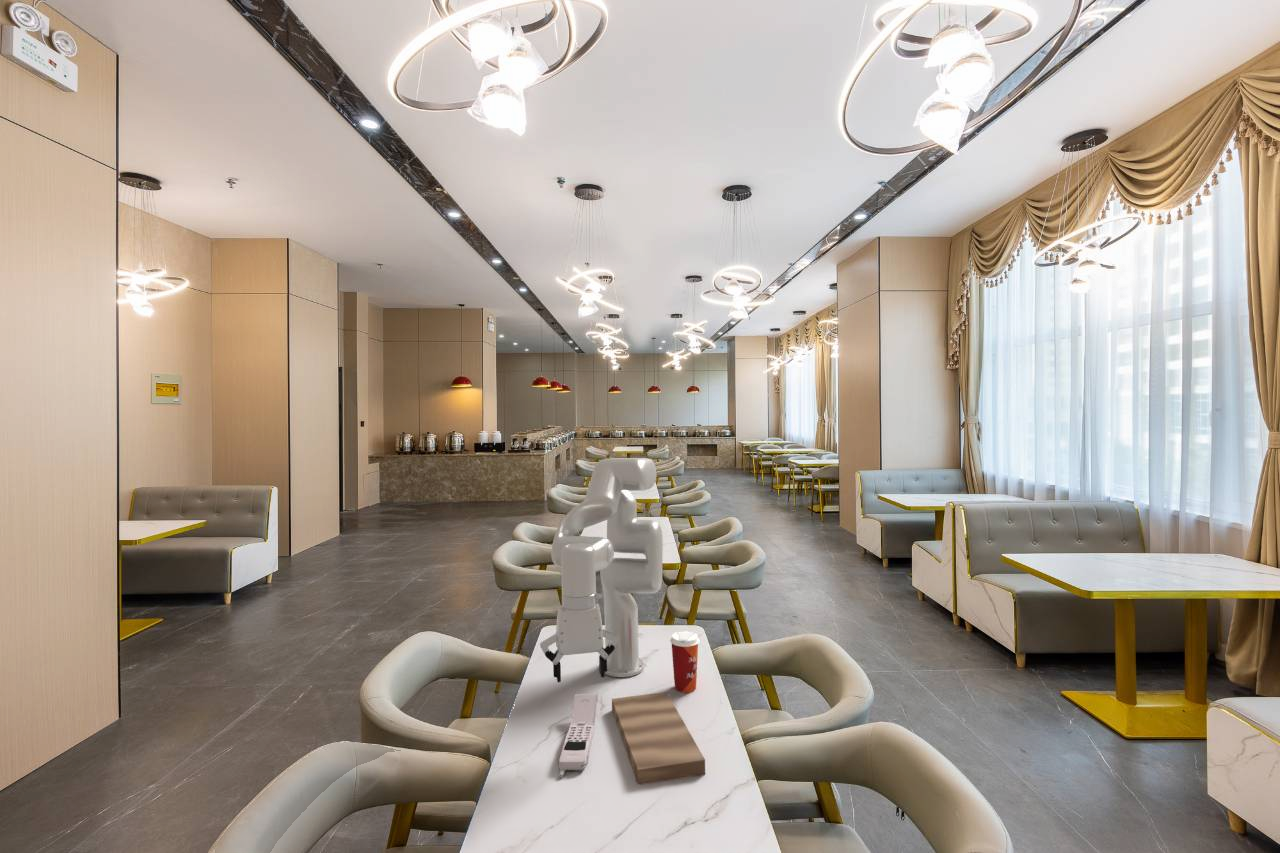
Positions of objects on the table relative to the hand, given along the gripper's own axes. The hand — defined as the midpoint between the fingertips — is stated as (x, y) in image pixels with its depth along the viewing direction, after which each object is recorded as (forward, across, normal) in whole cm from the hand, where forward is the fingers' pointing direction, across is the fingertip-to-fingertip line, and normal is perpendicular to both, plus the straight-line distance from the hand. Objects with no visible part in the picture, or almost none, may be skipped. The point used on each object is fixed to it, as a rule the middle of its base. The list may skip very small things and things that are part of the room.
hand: (580, 677), depth 135 cm
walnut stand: (+15, -16, +2) cm, 22 cm away
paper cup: (+15, -30, -20) cm, 39 cm away
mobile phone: (+16, 0, -1) cm, 16 cm away
